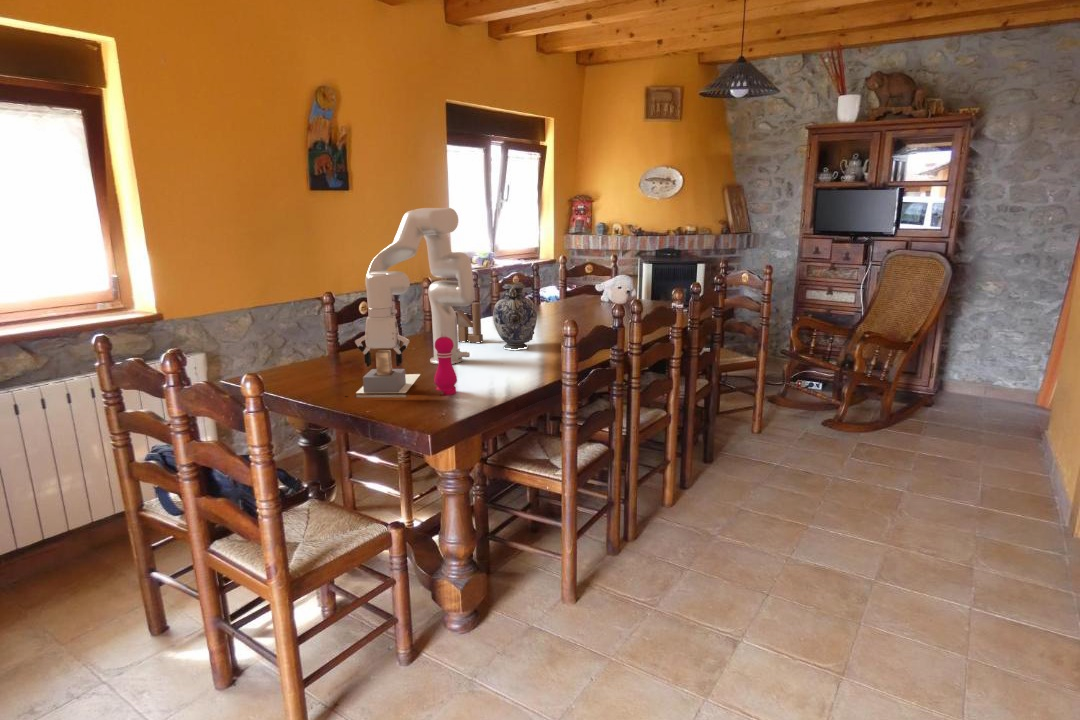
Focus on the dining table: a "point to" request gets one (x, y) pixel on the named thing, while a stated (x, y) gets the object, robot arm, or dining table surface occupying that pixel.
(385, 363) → the square wooden peg
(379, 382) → the board
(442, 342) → the pink bowling pin
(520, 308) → the decorative vase
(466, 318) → the brown braced post frame
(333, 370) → the dining table surface
